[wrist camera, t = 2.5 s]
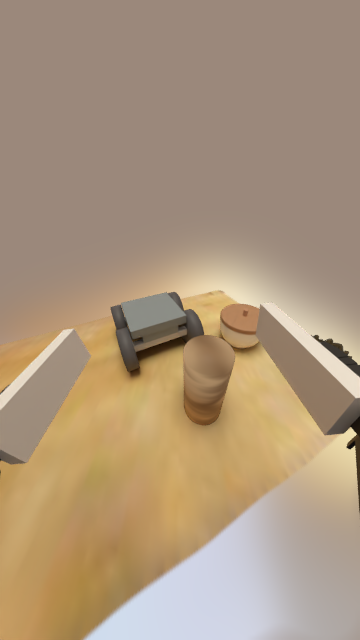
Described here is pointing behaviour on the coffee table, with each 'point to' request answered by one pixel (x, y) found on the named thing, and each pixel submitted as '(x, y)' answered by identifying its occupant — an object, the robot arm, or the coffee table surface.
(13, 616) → the coffee table surface
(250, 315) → the lidded jar
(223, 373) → the tan wooden cylinder
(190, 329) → the trolley
